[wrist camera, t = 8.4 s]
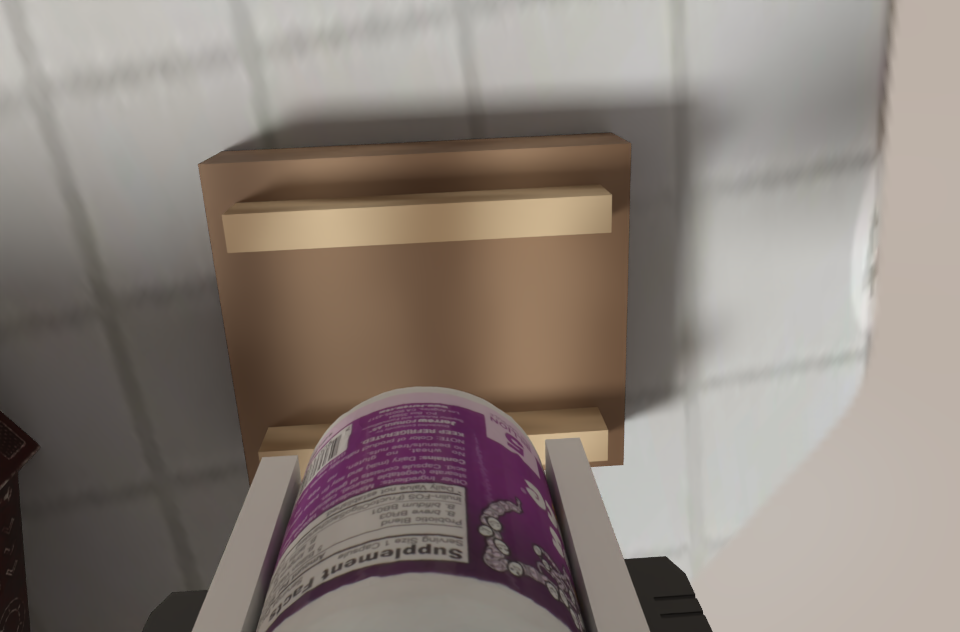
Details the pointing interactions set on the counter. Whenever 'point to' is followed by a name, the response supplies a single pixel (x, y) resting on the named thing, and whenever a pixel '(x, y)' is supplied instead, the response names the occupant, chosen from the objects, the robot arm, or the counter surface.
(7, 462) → the crate
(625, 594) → the robot arm
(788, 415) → the counter surface
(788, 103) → the counter surface
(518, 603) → the pill bottle
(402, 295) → the display pedestal
